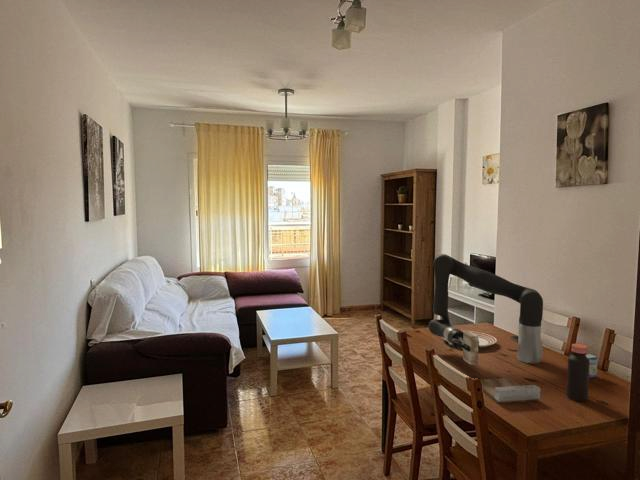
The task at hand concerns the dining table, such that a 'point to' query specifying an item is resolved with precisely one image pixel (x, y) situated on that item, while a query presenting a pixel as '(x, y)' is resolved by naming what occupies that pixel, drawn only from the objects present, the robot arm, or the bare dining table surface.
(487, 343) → the dinner plate
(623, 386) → the dining table surface
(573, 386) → the bottle
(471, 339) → the cream tall block
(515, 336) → the phone
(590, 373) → the medicine box
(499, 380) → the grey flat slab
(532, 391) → the metal rail
